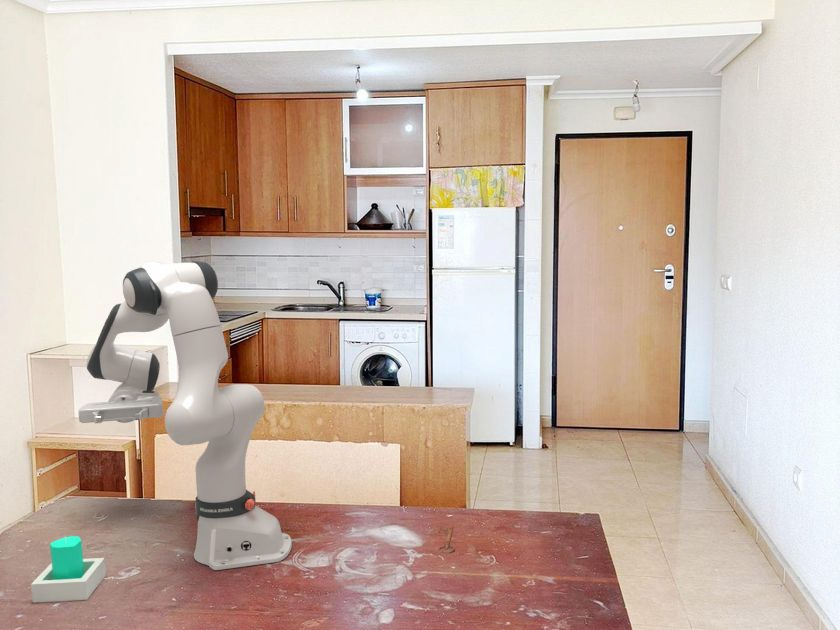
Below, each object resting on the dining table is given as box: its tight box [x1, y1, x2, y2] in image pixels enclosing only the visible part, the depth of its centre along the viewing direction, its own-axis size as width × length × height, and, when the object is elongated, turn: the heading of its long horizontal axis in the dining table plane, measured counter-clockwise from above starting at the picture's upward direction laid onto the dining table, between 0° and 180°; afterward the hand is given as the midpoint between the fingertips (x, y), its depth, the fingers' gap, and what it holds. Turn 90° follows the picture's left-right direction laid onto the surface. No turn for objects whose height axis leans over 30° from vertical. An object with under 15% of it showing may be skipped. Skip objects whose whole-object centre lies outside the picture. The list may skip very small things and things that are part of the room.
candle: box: [49, 534, 84, 580], centre depth 158 cm, size 6×6×12 cm
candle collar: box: [30, 557, 107, 603], centre depth 158 cm, size 11×11×4 cm
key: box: [437, 524, 456, 554], centre depth 178 cm, size 6×1×15 cm
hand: (118, 418), depth 183 cm, fingers open, 8 cm apart
